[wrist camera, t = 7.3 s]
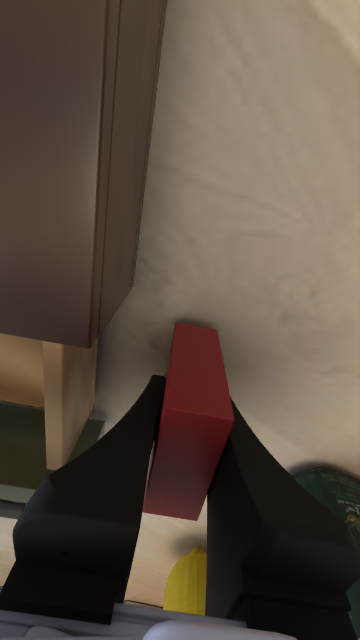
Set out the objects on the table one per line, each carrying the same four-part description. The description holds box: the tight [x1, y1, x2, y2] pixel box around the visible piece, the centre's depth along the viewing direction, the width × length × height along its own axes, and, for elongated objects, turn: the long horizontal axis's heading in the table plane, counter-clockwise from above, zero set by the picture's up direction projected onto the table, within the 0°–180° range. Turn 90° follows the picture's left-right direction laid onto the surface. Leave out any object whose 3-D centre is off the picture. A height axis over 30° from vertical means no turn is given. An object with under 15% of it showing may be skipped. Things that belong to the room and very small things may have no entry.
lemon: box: [163, 547, 207, 616], centre depth 21 cm, size 6×6×8 cm
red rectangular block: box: [142, 322, 234, 521], centre depth 12 cm, size 5×2×6 cm, turn 169°
